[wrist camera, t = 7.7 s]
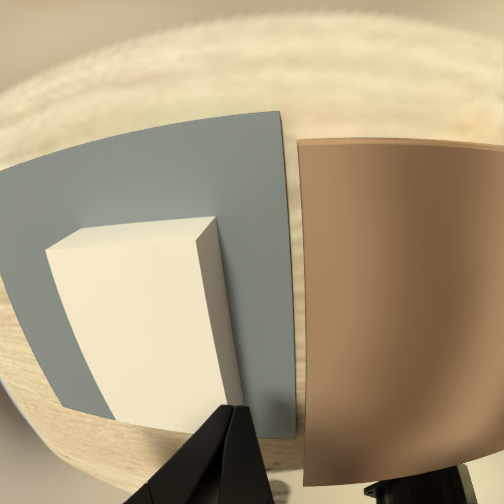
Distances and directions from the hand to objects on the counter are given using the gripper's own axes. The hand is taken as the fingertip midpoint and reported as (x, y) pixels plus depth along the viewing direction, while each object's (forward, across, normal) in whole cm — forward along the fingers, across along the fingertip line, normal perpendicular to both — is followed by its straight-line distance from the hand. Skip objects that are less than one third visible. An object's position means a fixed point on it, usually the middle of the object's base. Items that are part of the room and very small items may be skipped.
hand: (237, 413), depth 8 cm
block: (+5, -12, 0) cm, 13 cm away
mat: (+5, +6, 0) cm, 8 cm away
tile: (+4, +4, 0) cm, 5 cm away
